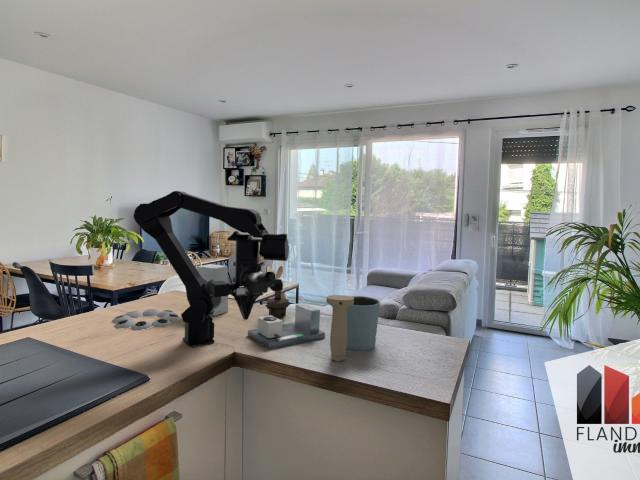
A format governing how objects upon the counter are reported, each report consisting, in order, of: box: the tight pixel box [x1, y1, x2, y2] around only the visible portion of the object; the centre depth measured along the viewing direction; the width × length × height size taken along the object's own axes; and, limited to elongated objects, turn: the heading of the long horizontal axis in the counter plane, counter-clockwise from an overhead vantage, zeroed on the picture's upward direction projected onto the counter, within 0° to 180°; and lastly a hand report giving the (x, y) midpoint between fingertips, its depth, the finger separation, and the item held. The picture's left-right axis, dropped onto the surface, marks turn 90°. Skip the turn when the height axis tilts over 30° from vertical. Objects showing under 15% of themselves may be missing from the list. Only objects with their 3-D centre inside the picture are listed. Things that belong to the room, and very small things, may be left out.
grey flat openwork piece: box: [111, 308, 182, 331], centre depth 119 cm, size 20×20×2 cm
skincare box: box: [196, 263, 229, 317], centre depth 129 cm, size 8×7×16 cm
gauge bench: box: [247, 303, 326, 350], centre depth 108 cm, size 18×12×8 cm
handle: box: [326, 294, 354, 363], centre depth 93 cm, size 5×6×15 cm
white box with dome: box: [257, 315, 284, 338], centre depth 104 cm, size 6×8×4 cm, turn 36°
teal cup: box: [346, 295, 381, 351], centre depth 103 cm, size 10×10×12 cm
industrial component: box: [265, 290, 291, 319], centre depth 127 cm, size 9×7×12 cm
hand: (245, 319), depth 100 cm, fingers closed
